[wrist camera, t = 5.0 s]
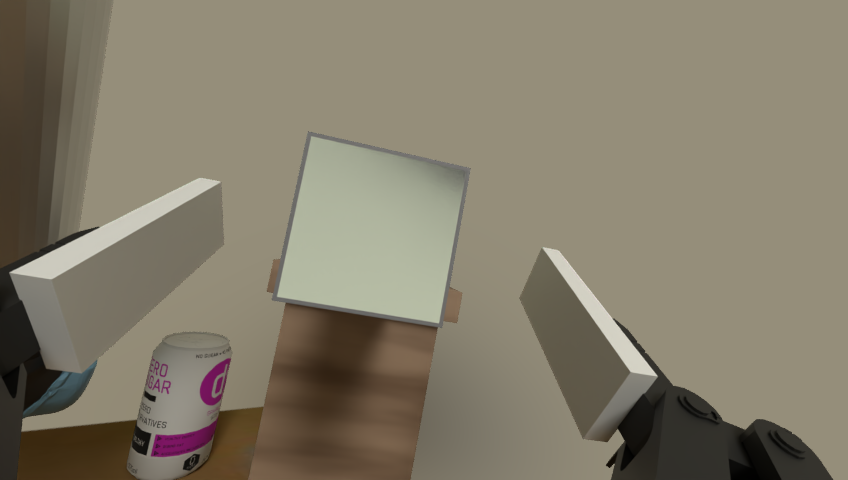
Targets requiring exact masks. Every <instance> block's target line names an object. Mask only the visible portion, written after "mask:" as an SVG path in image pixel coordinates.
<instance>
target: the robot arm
mask: <svg viewBox="0 0 848 480" xmlns="http://www.w3.org/2000/svg"><path fill="white" fill-rule="evenodd" d="M112 5H113V0H0V480H16V479H17V469H18V459H19V449H20V439H21V429H22V419H23V418H25V417H29V416H36V415H43V414H51V413H55V412H59V411H61V410H64V409H66V408H68V407H69V406H70V405H72V404H73V403H75V402H76V400H78V398H79V397H80V396H81V395H82V393H83V392H84V390H85V388H86V387H87V385H88V383H89V381H90V379H91V377H92V374H93V372H94V369H95V367H96V364H97V359H98V358H99V357H100V356H102V355H103V354H104V353H105V352H106V351H107V350H108V349H109V348H110V347H112V346H113V345H114V344H115V343H116V342H117V341H118V340H119V339H120V338H121V337H122V336H124V335H125V334H126V333H127V332H128V331H129V330H130V329H131V328H132V327H134V326H135V325H136V324H137V323H138V322H139V321H140V320H141V319H142V318H143V317H144V316H146V315H147V314H148V313H149V312H150V311H151V310H152V309H153V308H154V307H156V306H157V305H158V304H159V303H160V302H161V301H162V300H163V299H164V298H165V297H166V296H168V295H169V294H170V293H171V292H172V291H173V290H174V289H175V288H176V287H178V285H180V284H181V283H182V282H183V281H184V280H185V279H186V278H187V277H189V276H190V274H192V273H193V272H194V271H195V270H196V269H197V268H199V267H200V266H201V265H202V264H203V263H204V262H205V261H206V260H207V259H208V258H209V257H211V256H212V255H213V254H214V253H215V252H216V251H217V250H218V249H219V248H221V247H222V246H223V245H224V236H223V235H224V234H223V211H222V190H221V189H222V188H221V182H219V181H214V180H209V179H205V178H198V179H196V180H194V181H192V182H190V183H188V184H186V185H184V186H182V187H180V188H178V189H176V190H174V191H172V192H170V193H168V194H166V195H164V196H162V197H160V198H158V199H156V200H154V201H152V202H150V203H148V204H146V205H144V206H142V207H140V208H138V209H136V210H134V211H132V212H130V213H128V214H126V215H124V216H122V217H120V218H118V219H116V220H114V221H112V222H110V223H108V224H106V225H104V226H102V227H95V228H91V229H88V230H84V231H80V232H79V226H80V219H81V213H82V206H83V199H84V192H85V186H86V179H87V173H88V166H89V158H90V152H91V145H92V139H93V132H94V125H95V119H96V112H97V106H98V98H99V92H100V85H101V78H102V72H103V65H104V59H105V52H106V45H107V39H108V32H109V25H110V18H111V12H112ZM520 300H521V303H522V305H523V307H524V309H525V312H526V314H527V316H528V318H529V320H530V322H531V325H532V327H533V329H534V331H535V333H536V336H537V338H538V340H539V342H540V344H541V347H542V349H543V351H544V354H545V356H546V358H547V360H548V362H549V365H550V367H551V369H552V371H553V373H554V376H555V378H556V380H557V382H558V384H559V387H560V389H561V391H562V393H563V396H564V398H565V400H566V402H567V404H568V406H569V409H570V411H571V413H572V416H573V417H574V420H575V422H576V424H577V427H578V429H579V431H580V433H581V435H582V438H583V439H587V440H595V441H603V442H608V441H609V439H610V438H611V437H612V435H613V434H614V433H615V432H616V430H617V429H618V430H619V431H620V433H621V435H622V437H623V438H624V440H625V441H624V443H623V444H622V445H621V446H620V448H619V449H618V450H617V451H616V453H615V454H614V455H613V456H612V457H611V459H610V460H609V461H608V463H607V464H606V466H608V467H609V468H610V467H611V466H612V465H613V464H615V466H614V470H613V474H612V478H611V480H833V479H832V477H831V476H830V474H829V473H828V471H827V470H826V468H825V467H824V466H823V464H822V462H821V461H820V460H819V458H818V457H817V456H816V455H815V453H814V452H813V451H812V450H811V449H810V448H809V447H808V446H807V445H806V444H804V443H803V442H802V440H801V439H799V438H798V437H797V436H796V435H794V434H792V432H790V431H788V430H787V429H785V428H782V427H780V426H778V425H776V424H775V423H772V422H769V421H766V420H763V419H757V420H755V421H754V422H753V423H752V424H751V425H750V426H749V427H748V428H747V429H746V430H744V429H742V428H739V427H737V426H734V425H732V424H729V423H727V422H724V421H723V420H722V418H721V417H720V415H719V414H718V413H717V411H716V410H715V409H714V408H713V407H712V406H711V405H709V404H708V403H707V402H706V401H705V400H704V399H702V398H701V397H699V396H698V395H696V394H695V393H693V392H691V391H689V390H687V389H685V388H681V387H677V386H673V385H672V384H671V383H670V381H669V380H668V379H667V378H666V376H665V375H664V374H663V373H662V371H661V370H660V369H659V368H658V366H657V365H656V364H655V363H654V361H653V360H652V359H651V358H650V357H649V355H648V354H647V353H645V350H644V349H643V348H642V347H641V345H640V344H638V343H637V341H636V339H635V338H634V337H633V336H632V334H631V333H630V332H629V331H628V330H627V329H626V328H625V327H624V326H623V325H621V324H620V323H619V322H618V321H616V320H615V319H613V318H611V316H610V315H609V314H608V313H607V311H606V310H605V309H604V308H603V306H602V305H601V304H600V302H599V301H598V300H597V299H596V297H595V296H594V295H593V293H592V292H591V291H590V290H589V288H588V287H587V286H586V285H585V284H584V282H583V281H582V280H581V278H580V277H579V276H578V274H577V273H576V272H575V271H574V270H573V268H572V267H571V266H570V264H569V263H568V262H567V261H566V259H565V258H564V257H563V255H562V254H561V253H560V252H559V250H554V249H549V248H544V247H542V248H541V251H540V253H539V255H538V257H537V260H536V262H535V264H534V266H533V269H532V271H531V274H530V275H529V278H528V280H527V283H526V285H525V287H524V289H523V291H522V294H521V296H520Z"/></svg>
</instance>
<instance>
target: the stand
mask: <svg viewBox="0 0 848 480" xmlns="http://www.w3.org/2000/svg"><path fill="white" fill-rule="evenodd" d="M279 264H280V259H274V260H273V266H272V269H271V274H270V279H269V283H268V288H267V292H271V293H273V292H274V287H275V283H276V278H277V273H278V269H279ZM461 298H462V292H459V291H457V290H455V289H453V288H451V287H449V292H448V298H447V303H446V309H445V315H444V320H443V321H446V322H453V323H457V321H458V315H459V309H460V304H461ZM437 328H438V327H434V326H427V325H421V324H415V323H409V322H403V321H397V320H390V319H384V318H378V317H372V316H366V315H360V314H353V313H347V312H341V311H335V310H329V309H323V308H316V307H310V306H304V305H298V304H292V303H286V304H285V309H284V314H283V319H282V324H281V329H280V333H279V338H278V342H277V347H276V352H275V356H274V361H273V366H272V370H271V376H270V380H269V385H268V390H267V394H266V399H265V404H264V408H263V413H262V418H261V422H260V427H259V432H258V436H257V441H256V446H255V451H254V455H253V460H252V465H251V469H250V474H249V479H248V480H410V479H411V473H412V467H413V462H414V457H415V451H416V445H417V440H418V434H419V429H420V423H421V418H422V412H423V406H424V401H425V395H426V390H427V384H428V379H429V373H430V367H431V362H432V356H433V351H434V344H435V340H436V334H437Z"/></svg>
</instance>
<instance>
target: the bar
mask: <svg viewBox="0 0 848 480" xmlns="http://www.w3.org/2000/svg"><path fill="white" fill-rule="evenodd" d="M469 174H470V168H467V167H463V166H459V165H454V164H450V163H445V162H441V161H436V160H432V159H428V158H423V157H419V156H415V155H410V154H406V153H401V152H397V151H392V150H388V149H384V148H379V147H375V146H370V145H366V144H362V143H357V142H352V141H348V140H344V139H339V138H335V137H330V136H326V135H322V134H317V133H313V132H309V131H308V134H307V139H306V143H305V148H304V153H303V157H302V162H301V167H300V171H299V176H298V181H297V185H296V190H295V194H294V199H293V204H292V208H291V213H290V218H289V223H288V227H287V232H286V237H285V241H284V246H283V250H282V255H281V259H280V264H279V269H278V273H277V278H276V283H275V287H274V292H273V297H272V300H274V301H280V302H286V303H292V304H298V305H304V306H310V307H316V308H323V309H329V310H335V311H341V312H347V313H353V314H360V315H366V316H372V317H378V318H384V319H390V320H397V321H403V322H409V323H415V324H421V325H427V326H434V327H440V328H442V326H443V320H444V315H445V309H446V303H447V298H448V292H449V287H450V281H451V275H452V270H453V264H454V259H455V253H456V247H457V242H458V236H459V230H460V225H461V219H462V213H463V208H464V203H465V197H466V191H467V186H468V180H469Z"/></svg>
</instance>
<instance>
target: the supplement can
mask: <svg viewBox="0 0 848 480" xmlns="http://www.w3.org/2000/svg"><path fill="white" fill-rule="evenodd" d="M231 356H232V350H231V347H230V344H229V339H228V338H227V337H225V336H223V335H219V334H214V333H207V332H182V333H174V334H171V335H167V336H166V337H164V338H163V340H162V342H161V343H160V344H159V345H158V346H157V347H156V349H155V350H154V351H153V355H152V359H151V363H150V367H149V372H148V376H147V380H146V384H145V389H144V393H143V397H142V402H141V405H140V409H139V414H138V418H137V422H136V426H135V431H134V435H133V439H132V443H131V447H130V452H129V456H128V460H127V470H128V471H129V472H130V473H131V474H132V475H134V476H135V477H136V478H137V479H140V480H174V479H178V478H181V477H184V476H186V475H188V474H189V473H191V472H193V471H195V470H196V469H197V468H198V467H199V466H201V465H202V464H203V463H204V462H205V461H206V460H207V459H208V457H209V454H210V451H211V447H212V442H213V438H214V433H215V429H216V424H217V420H218V415H219V411H220V406H221V401H222V397H223V393H224V388H225V383H226V379H227V374H228V370H229V365H230V361H231Z"/></svg>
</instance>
